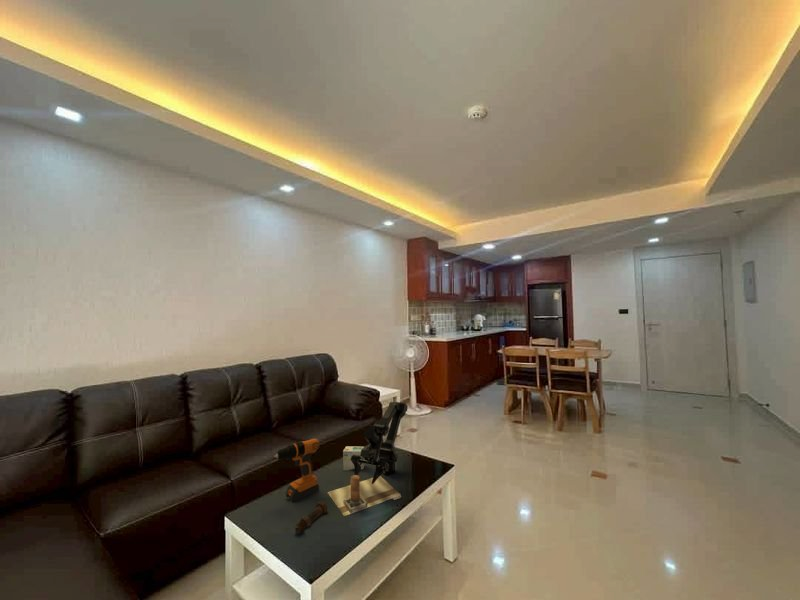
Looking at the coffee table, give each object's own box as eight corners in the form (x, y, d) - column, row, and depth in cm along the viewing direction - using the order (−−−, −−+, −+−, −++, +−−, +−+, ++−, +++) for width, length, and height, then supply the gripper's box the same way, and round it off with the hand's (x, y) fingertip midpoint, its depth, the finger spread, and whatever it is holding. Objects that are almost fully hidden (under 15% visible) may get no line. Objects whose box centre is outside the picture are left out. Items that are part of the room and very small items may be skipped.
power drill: (279, 511, 142) (278, 453, 143) (272, 503, 148) (271, 448, 148) (322, 491, 158) (322, 439, 158) (314, 485, 163) (314, 434, 163)
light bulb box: (364, 465, 183) (364, 446, 183) (362, 471, 176) (362, 451, 176) (346, 464, 184) (345, 445, 184) (342, 470, 177) (342, 450, 177)
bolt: (295, 539, 128) (321, 515, 141) (304, 536, 126) (329, 512, 139) (290, 524, 129) (316, 502, 142) (298, 521, 127) (324, 499, 140)
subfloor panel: (379, 477, 169) (379, 472, 169) (401, 497, 151) (400, 491, 151) (327, 494, 154) (327, 489, 154) (344, 519, 136) (344, 512, 136)
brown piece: (355, 500, 147) (355, 473, 147) (362, 504, 144) (362, 476, 145) (348, 505, 144) (347, 477, 144) (355, 509, 141) (354, 481, 141)
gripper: (351, 438, 160) (339, 471, 150) (386, 443, 152) (375, 479, 142) (360, 447, 167) (349, 480, 157) (393, 453, 160) (383, 488, 149)
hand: (363, 481), depth 151 cm, fingers open, 9 cm apart
